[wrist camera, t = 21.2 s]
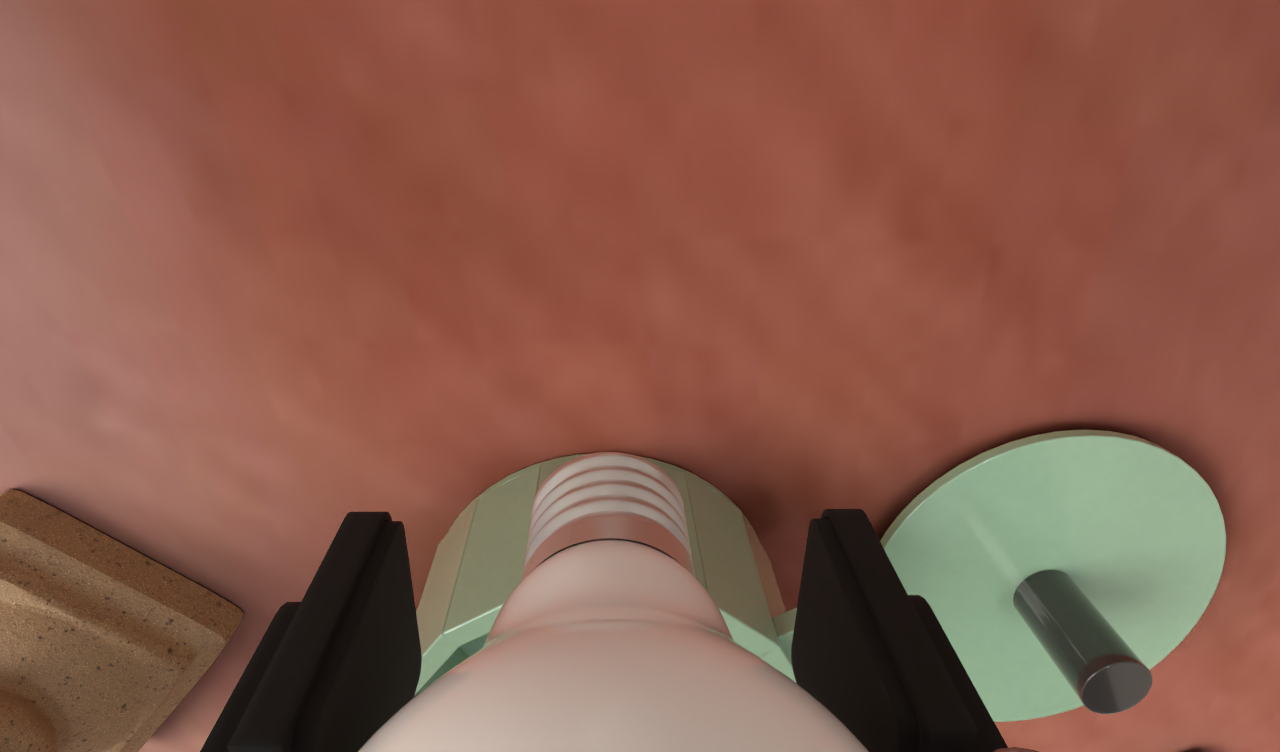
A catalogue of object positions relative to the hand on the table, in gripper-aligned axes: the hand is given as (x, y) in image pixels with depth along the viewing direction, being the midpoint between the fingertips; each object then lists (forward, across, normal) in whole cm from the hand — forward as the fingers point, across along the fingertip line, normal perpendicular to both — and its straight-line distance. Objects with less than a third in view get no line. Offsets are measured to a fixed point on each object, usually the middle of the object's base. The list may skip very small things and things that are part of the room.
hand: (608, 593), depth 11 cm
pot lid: (+18, -20, +16) cm, 31 cm away
